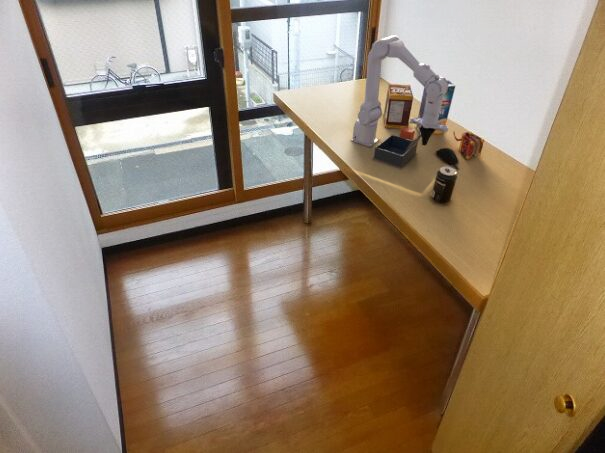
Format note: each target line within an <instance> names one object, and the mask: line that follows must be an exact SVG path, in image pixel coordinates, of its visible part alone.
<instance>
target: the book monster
mask: <svg viewBox="0 0 605 453" xmlns="http://www.w3.org/2000/svg"><path fill="white" fill-rule="evenodd" d="M452 133H453V136H454V139H455V141H456V142H460V143H459V147H458V151H459V152H460V153H462V154H463V155H464V156H465V158H466V159H467V160H470V158H472V156H473V155H475V156H477V157H480V156H481V155H482V150H483V147H484V143H485V139H484V138H483V137H480V136H478V135H476V134H474V133H473V132H471V131H465V132H463V133H462V134H461V138H457V136H456V132H455V130H454V131H453V132H452Z"/></svg>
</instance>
